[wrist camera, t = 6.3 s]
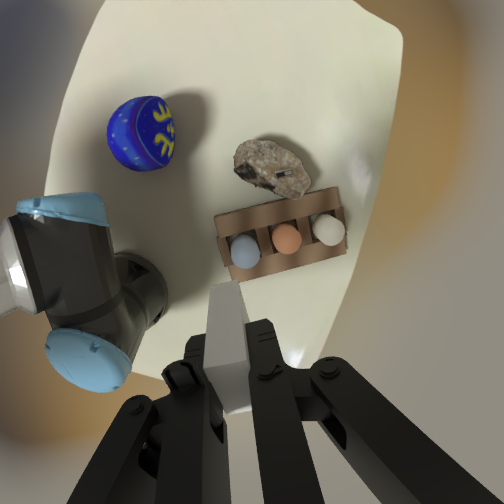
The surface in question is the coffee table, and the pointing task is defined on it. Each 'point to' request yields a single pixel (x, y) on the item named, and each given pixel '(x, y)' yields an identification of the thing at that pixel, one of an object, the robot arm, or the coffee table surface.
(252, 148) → the stone
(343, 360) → the robot arm
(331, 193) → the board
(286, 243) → the button terracotta
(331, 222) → the button cream
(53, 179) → the coffee table surface
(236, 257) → the button slate
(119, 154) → the ornament
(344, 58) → the coffee table surface
